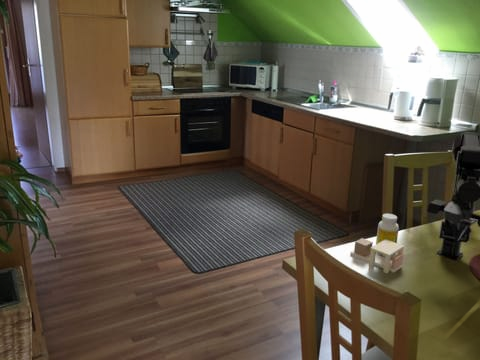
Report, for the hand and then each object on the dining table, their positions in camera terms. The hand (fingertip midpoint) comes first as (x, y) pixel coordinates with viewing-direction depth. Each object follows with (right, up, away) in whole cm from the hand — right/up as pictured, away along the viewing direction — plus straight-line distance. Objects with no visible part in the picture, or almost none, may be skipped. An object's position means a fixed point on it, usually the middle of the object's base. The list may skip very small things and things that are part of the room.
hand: (456, 240), depth 132 cm
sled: (-22, -8, +10) cm, 25 cm away
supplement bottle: (-15, -6, +19) cm, 25 cm away
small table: (-16, -11, +5) cm, 20 cm away
